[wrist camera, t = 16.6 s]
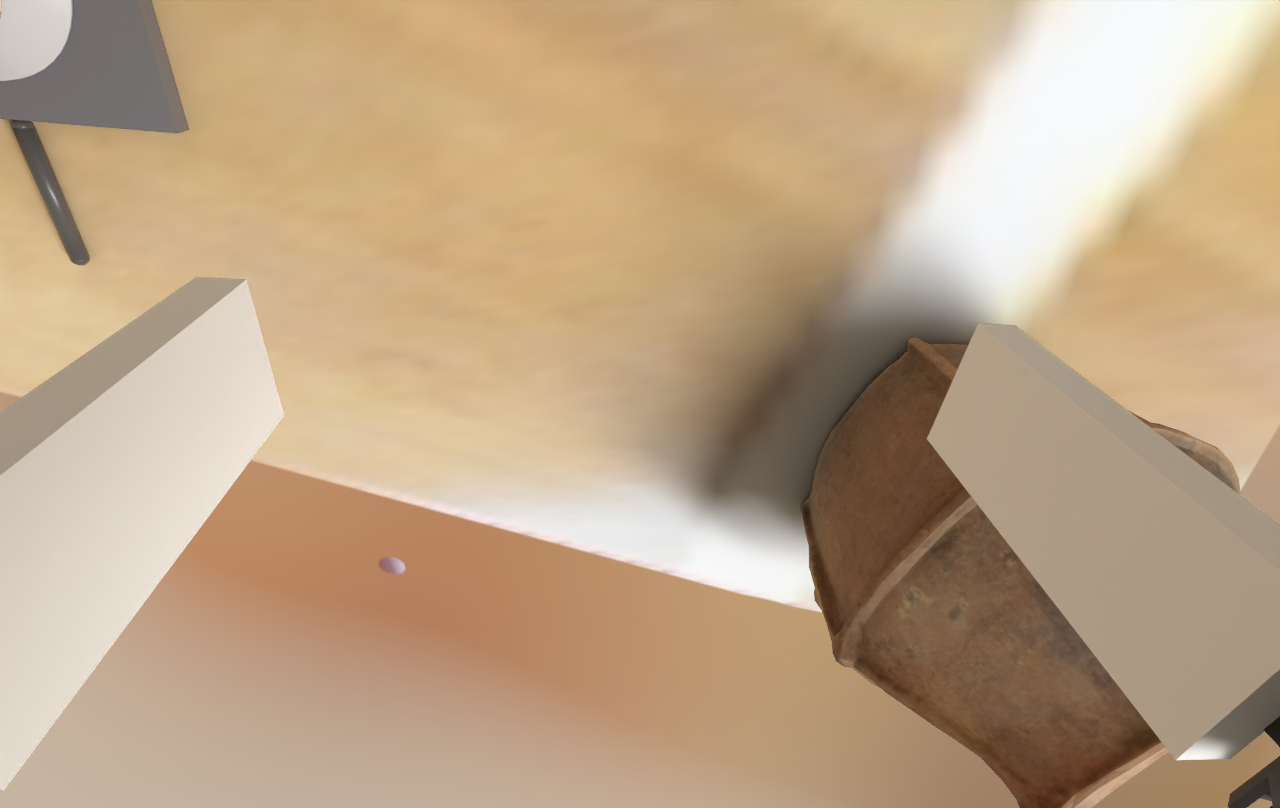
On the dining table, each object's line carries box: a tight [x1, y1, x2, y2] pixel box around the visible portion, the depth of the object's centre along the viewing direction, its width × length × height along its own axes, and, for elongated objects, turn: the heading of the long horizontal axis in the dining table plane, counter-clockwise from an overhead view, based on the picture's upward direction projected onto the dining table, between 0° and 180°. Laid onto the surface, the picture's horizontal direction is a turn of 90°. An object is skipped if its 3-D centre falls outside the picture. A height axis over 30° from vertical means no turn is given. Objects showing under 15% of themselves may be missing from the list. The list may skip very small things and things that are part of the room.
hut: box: [801, 337, 1240, 808], centre depth 42 cm, size 23×27×30 cm
